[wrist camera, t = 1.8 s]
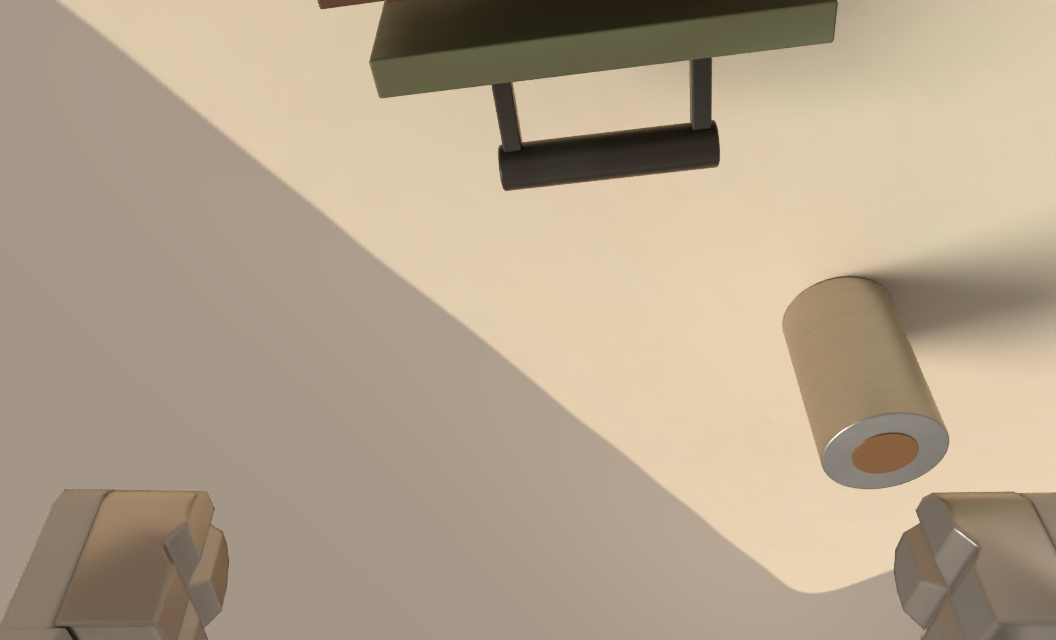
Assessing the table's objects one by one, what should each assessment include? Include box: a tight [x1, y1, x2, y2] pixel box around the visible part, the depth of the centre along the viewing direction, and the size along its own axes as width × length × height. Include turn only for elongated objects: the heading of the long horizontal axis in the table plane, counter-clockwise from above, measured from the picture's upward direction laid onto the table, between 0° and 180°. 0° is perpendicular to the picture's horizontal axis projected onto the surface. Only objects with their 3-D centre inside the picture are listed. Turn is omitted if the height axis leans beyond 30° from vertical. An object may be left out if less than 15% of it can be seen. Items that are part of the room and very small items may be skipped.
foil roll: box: [782, 277, 949, 489], centre depth 40 cm, size 5×5×8 cm
